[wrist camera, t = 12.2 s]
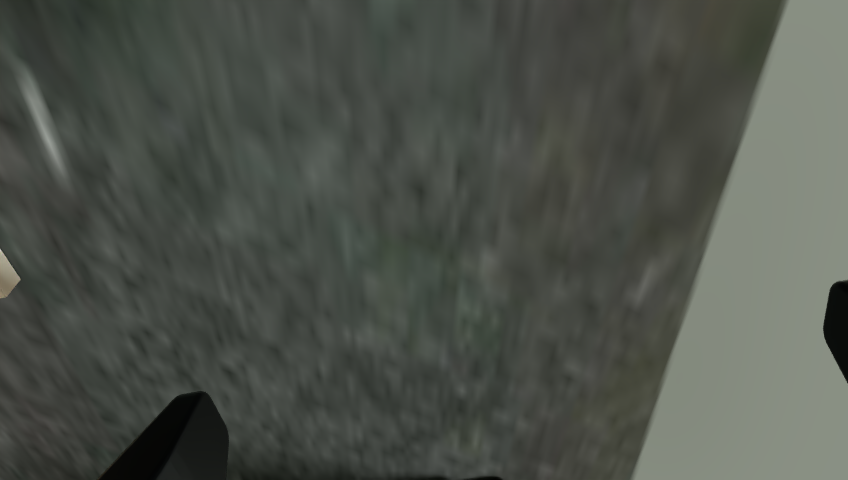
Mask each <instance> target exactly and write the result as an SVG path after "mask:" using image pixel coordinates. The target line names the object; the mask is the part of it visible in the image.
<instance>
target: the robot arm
mask: <svg viewBox="0 0 848 480" xmlns="http://www.w3.org/2000/svg"><path fill="white" fill-rule="evenodd" d="M823 331H824V337H825V340H826V343H827V345H828V347H829V348H830V351H831V352H832V354H833V356H834V358H835V360H836V362H837V364H838V366H839V368H840V370H841V371H842V373H843V375H844V377H845V379H846V381H847V383H848V280H843V281H839V282H836V283H834V284H833V285H832V287H831V288H830V292H829V297H828V303H827V308H826V313H825V319H824V326H823ZM228 447H229V436H228V431H227V427H226V425H225V423H224V421H223V419H222V418H221V416H220V414H219V412H218V410H217V408H216V406H215V405H214V403H213V401H212V399H211V397H210V396H209V394H207V393H206V392H204V391H198V392H192V393H187V394H181V395H179V396H177V397H176V398H174V399H173V400H172V401H171V402H170V403H169V404H168V406H167V407H166V408H165V409H164V410H163V411H162V412H161V413H160V414H159V415H158V416H157V417H156V418H155V419H154V420H153V421H152V422H151V423H150V424H149V425H148V427H147V428H146V429H145V430H144V431H143V432H142V433H141V434H140V435H139V436H138V437H137V438H136V439H135V440H134V441H133V442H132V443H131V444H130V445H129V446H128V448H127V449H126V450H125V451H124V452H123V453H122V454H121V455H120V456H119V457H118V458H117V459H116V460H115V461H114V462H113V463H112V464H111V465H110V466H109V468H108V469H107V470H106V471H105V472H104V473H103V474H102V475H101V476H100V477H99V478H98V479H97V480H226V472H227V459H228Z"/></svg>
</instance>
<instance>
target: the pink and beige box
mask: <svg viewBox="0 0 848 480" xmlns="http://www.w3.org/2000/svg"><path fill="white" fill-rule="evenodd" d="M20 280H21V279H20V278H19V276H18V275H17V273H16V272H15V270H14V269H13V267H12V266H11V264H10V263H9V261H8V260H7V258H6V257H5V255H4V254H3V252H2V251H1V249H0V298H4V297H7V296H8V295H9V293H10V292H11V291H12V290H13V288H14V287H15V286H16V285H17V283H18V282H19V281H20Z"/></svg>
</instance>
